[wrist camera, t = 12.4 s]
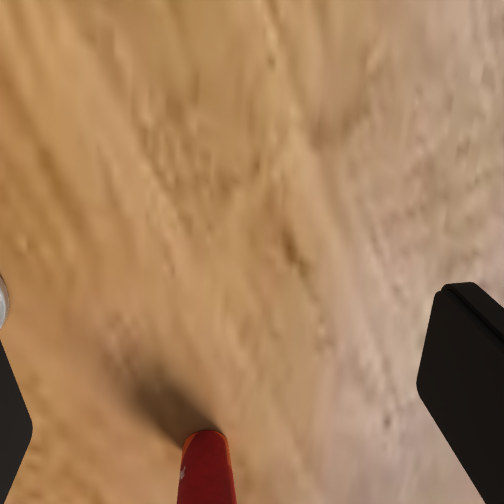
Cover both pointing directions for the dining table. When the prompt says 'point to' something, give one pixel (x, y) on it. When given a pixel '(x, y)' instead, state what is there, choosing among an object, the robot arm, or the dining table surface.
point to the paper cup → (206, 470)
